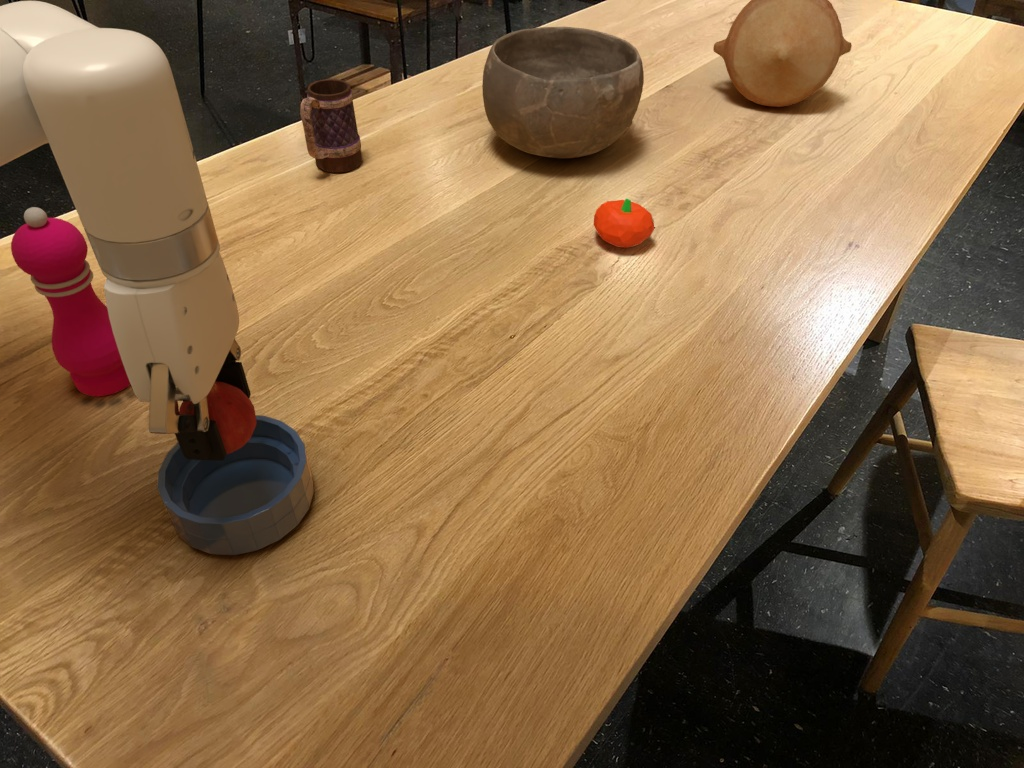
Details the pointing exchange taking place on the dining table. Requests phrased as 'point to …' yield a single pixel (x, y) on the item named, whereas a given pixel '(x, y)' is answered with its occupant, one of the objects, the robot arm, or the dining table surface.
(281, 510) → the blue bowl
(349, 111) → the mug
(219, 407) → the onion
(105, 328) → the pepper mill
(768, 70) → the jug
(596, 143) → the bowl
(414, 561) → the dining table surface
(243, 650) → the dining table surface
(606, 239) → the pumpkin
